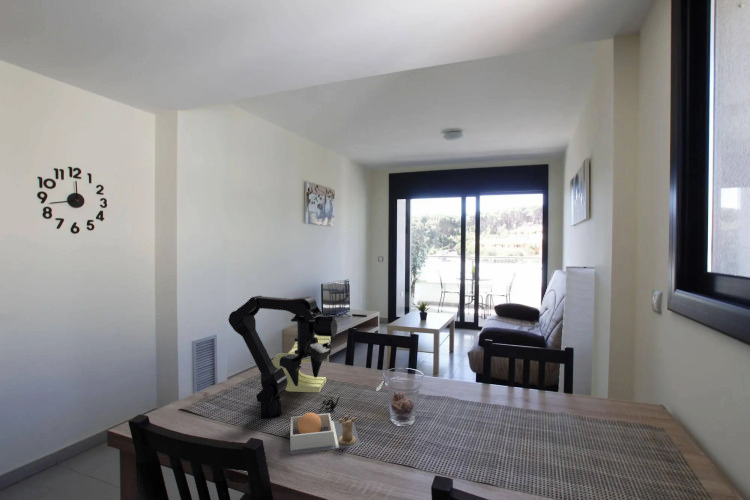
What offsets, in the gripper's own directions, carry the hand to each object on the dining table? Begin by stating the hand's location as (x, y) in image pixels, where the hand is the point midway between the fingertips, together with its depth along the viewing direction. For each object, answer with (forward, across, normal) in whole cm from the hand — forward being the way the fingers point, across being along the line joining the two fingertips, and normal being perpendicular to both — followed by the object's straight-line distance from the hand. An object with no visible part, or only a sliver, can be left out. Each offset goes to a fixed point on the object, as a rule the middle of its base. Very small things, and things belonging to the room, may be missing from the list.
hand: (306, 381), depth 124 cm
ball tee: (+12, -4, -20) cm, 24 cm away
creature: (+13, +10, 0) cm, 17 cm away
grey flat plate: (+13, -5, -12) cm, 19 cm away
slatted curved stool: (+13, +23, +23) cm, 35 cm away
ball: (+9, -8, -9) cm, 15 cm away
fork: (+14, +43, -4) cm, 46 cm away
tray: (+12, -8, -10) cm, 18 cm away
